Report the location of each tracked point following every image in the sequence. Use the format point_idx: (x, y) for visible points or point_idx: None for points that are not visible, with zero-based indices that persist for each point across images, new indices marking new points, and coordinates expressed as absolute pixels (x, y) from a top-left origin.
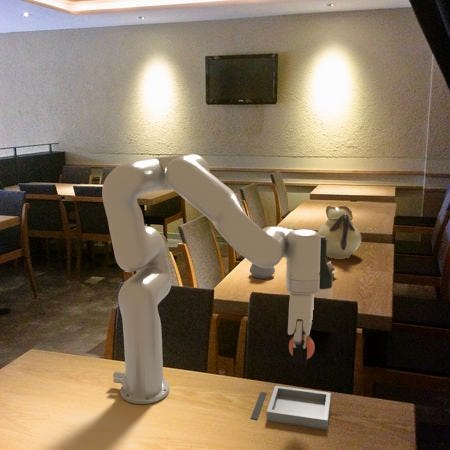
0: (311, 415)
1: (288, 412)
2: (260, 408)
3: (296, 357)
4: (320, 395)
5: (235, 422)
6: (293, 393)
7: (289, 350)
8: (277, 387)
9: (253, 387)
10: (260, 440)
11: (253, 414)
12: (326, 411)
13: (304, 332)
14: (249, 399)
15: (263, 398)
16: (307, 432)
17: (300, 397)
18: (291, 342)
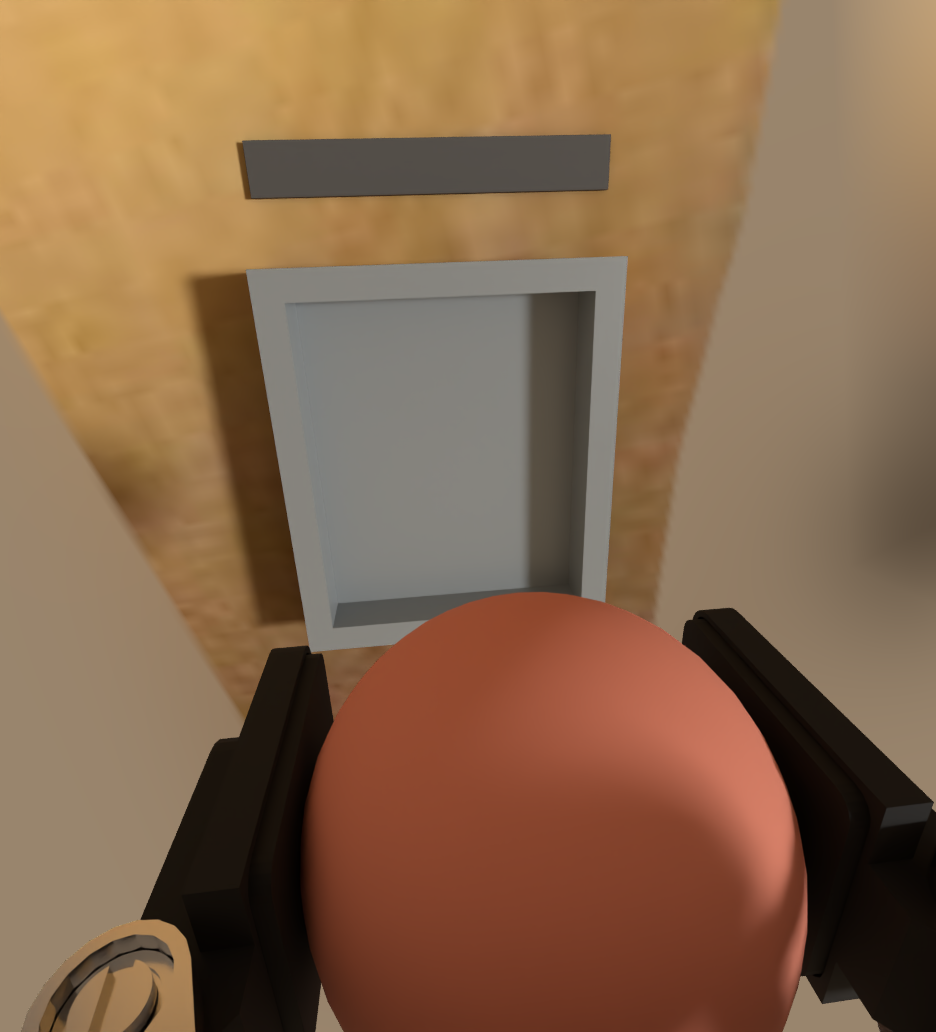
0: (323, 567)
1: (298, 429)
2: (388, 190)
3: (199, 784)
4: (578, 569)
5: (145, 19)
6: (582, 403)
7: (455, 618)
8: (602, 281)
9: (674, 52)
10: (38, 279)
11: (293, 152)
12: (396, 633)
13: (915, 1000)
14: (494, 61)
15: (525, 182)
16: (257, 532)
17: (573, 444)
18: (441, 802)
